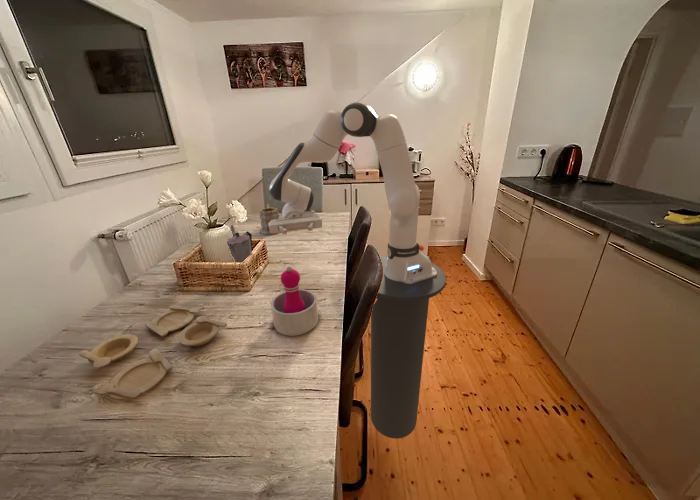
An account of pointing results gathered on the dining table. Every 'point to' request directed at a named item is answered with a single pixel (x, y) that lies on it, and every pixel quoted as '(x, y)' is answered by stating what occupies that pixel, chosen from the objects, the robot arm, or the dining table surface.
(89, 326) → the dining table surface
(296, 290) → the pepper mill
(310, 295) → the round grey bowl
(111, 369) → the dining table surface
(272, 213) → the tankard
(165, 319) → the tableware set
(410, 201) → the robot arm
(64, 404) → the dining table surface
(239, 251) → the moka pot
